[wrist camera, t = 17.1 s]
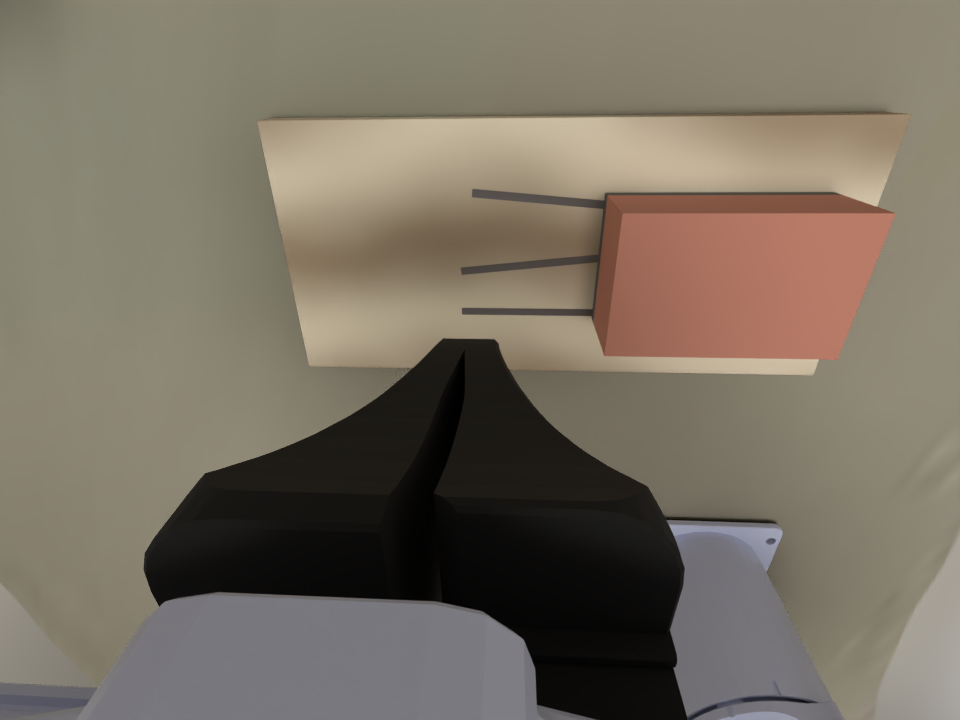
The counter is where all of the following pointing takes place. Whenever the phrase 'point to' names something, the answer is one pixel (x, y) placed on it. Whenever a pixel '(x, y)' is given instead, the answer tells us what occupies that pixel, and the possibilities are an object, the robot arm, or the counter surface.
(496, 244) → the plank
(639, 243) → the block
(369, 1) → the counter surface
